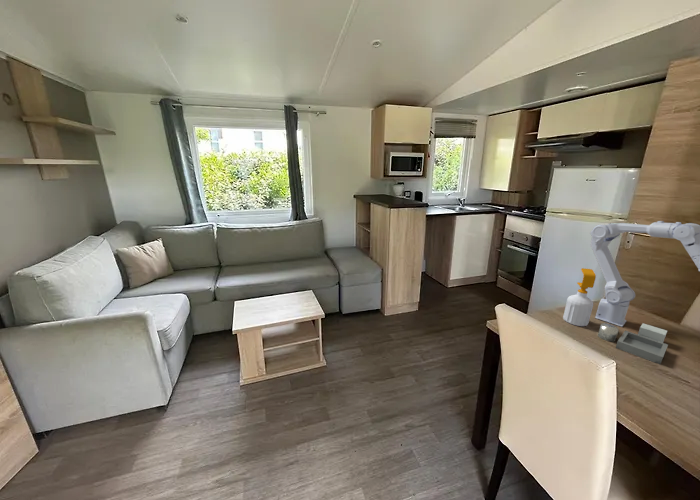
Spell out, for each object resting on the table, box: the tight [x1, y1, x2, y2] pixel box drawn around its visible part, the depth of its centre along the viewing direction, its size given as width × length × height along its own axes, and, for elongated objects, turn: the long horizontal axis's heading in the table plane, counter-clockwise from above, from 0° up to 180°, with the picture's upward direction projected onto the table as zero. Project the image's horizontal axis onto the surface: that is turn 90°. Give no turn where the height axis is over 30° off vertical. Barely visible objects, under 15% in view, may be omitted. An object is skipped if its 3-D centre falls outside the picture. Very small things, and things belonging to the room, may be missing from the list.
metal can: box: [597, 322, 619, 342], centre depth 116 cm, size 5×5×5 cm
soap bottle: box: [562, 267, 597, 327], centre depth 125 cm, size 9×9×25 cm
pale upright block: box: [637, 322, 668, 343], centre depth 115 cm, size 7×5×5 cm
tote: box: [615, 330, 669, 365], centre depth 109 cm, size 12×12×3 cm
